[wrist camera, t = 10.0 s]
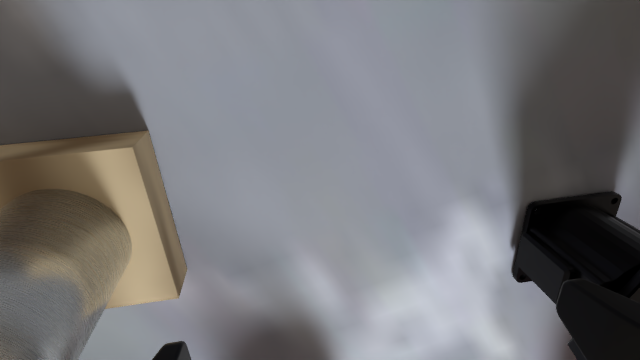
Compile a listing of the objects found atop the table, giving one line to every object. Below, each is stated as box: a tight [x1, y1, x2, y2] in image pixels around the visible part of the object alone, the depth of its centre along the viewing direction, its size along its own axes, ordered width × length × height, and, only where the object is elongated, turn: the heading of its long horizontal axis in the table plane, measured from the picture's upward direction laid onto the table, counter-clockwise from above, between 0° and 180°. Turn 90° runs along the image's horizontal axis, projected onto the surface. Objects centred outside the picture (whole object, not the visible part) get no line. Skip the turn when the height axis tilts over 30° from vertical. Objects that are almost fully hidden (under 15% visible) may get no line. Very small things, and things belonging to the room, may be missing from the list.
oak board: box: [0, 131, 187, 309], centre depth 19 cm, size 9×9×2 cm
